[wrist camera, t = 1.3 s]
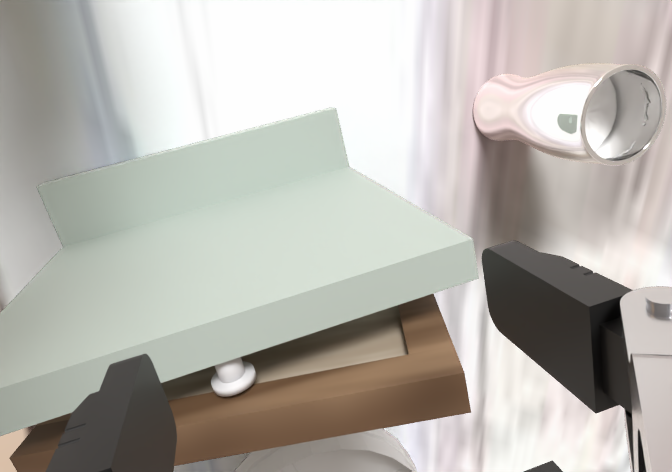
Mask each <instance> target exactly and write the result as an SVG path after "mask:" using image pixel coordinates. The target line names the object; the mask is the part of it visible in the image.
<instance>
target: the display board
mask: <svg viewBox="0 0 672 472" xmlns="http://www.w3.org/2000/svg"><path fill="white" fill-rule="evenodd" d="M37 189H38V192H39V194H40V196H41V198H42V201H43V203H44V205H45V207H46V210H47V212H48V214H49V216H50V219H51V221H52V223H53V225H54V227H55V230H56V232H57V234H58V236H59V239H60V241H61V243H62V245H63V248H62V249H61V250H60V251H59V252H58V253H57V254H56V255H55V256H54V257H53V258H52V259H51V260H50V261H49V262H48V263H47V264H46V265H45V266H44V268H43V269H42V270H41V271H40V272H39V273H38V274H37V275H36V276H35V277H34V278H33V279H32V280H31V281H30V282H29V283H28V284H27V285H26V286H25V287H24V289H23V290H22V291H21V292H20V293H19V294H18V295H17V296H16V297H15V298H14V299H13V300H12V301H11V302H10V303H9V304H8V305H7V306H6V307H5V308H4V310H3V311H2V312H1V313H0V436H2V435H5V434H8V433H11V432H14V431H17V430H20V429H23V428H26V427H29V426H32V425H35V424H38V423H41V422H44V421H47V420H51V419H54V418H57V417H60V416H63V415H66V414H69V413H72V412H73V411H74V410H75V409H76V408H77V407H78V406H79V405H80V404H81V403H82V402H83V401H84V399H85V398H86V397H87V396H88V395H89V394H92V393H95V392H98V391H99V390H100V387H101V385H102V382H103V379H104V377H105V374H106V372H107V369H108V367H109V365H110V364H113V363H116V362H119V361H122V360H126V359H129V358H132V357H135V356H138V355H142V354H147V355H148V356H149V357H150V359H151V361H152V363H153V365H154V368H155V370H156V372H157V375H158V377H159V380H160V382H161V383H163V382H166V381H169V380H172V379H175V378H178V377H181V376H184V375H187V374H190V373H193V372H196V371H199V370H202V369H205V368H208V367H211V366H215V369H216V371H217V372H216V373H215V374H214V375H213V377H212V379H211V385H212V388H213V390H214V393H215V394H216V395H218V396H222V397H227V396H233V395H236V394H239V393H241V392H243V391H245V390H246V389H248V388H249V387H250V386H251V385H252V384H253V383H254V381H255V380H256V372H255V369H254V366H253V365H252V364H251V363H249V362H245V361H242V359H241V357H242V356H245V355H248V354H251V353H254V352H257V351H260V350H263V349H266V348H269V347H272V346H275V345H278V344H281V343H284V342H287V341H290V340H293V339H296V338H299V337H303V336H306V335H309V334H312V333H315V332H318V331H321V330H324V329H327V328H330V327H333V326H336V325H339V324H342V323H345V322H348V321H351V320H354V319H357V318H360V317H363V316H366V315H369V314H372V313H375V312H378V311H381V310H385V309H388V308H391V307H394V306H397V305H400V304H403V303H406V302H409V301H412V300H415V299H418V298H421V297H424V296H427V295H430V294H433V293H436V292H439V291H442V290H445V289H448V288H451V287H454V286H457V285H460V284H463V283H466V282H470V281H473V280H476V279H479V276H478V270H477V263H476V256H475V249H474V243H473V239H472V238H471V237H469V236H467V235H466V234H464V233H462V232H460V231H459V230H457V229H455V228H454V227H452V226H450V225H448V224H447V223H445V222H443V221H442V220H440V219H438V218H436V217H435V216H433V215H431V214H430V213H428V212H426V211H425V210H423V209H421V208H419V207H418V206H416V205H414V204H413V203H411V202H409V201H407V200H406V199H404V198H402V197H401V196H399V195H397V194H395V193H394V192H392V191H390V190H389V189H387V188H385V187H384V186H382V185H380V184H378V183H377V182H375V181H373V180H372V179H370V178H368V177H366V176H365V175H363V174H361V173H360V172H358V171H356V170H355V169H353V168H351V167H349V163H348V159H347V154H346V150H345V145H344V141H343V137H342V132H341V128H340V123H339V119H338V114H337V110H336V108H327V109H323V110H319V111H315V112H311V113H308V114H304V115H300V116H296V117H292V118H288V119H285V120H281V121H277V122H273V123H269V124H265V125H262V126H258V127H254V128H250V129H246V130H243V131H239V132H235V133H231V134H227V135H223V136H220V137H216V138H212V139H208V140H204V141H200V142H197V143H193V144H189V145H185V146H181V147H177V148H174V149H170V150H166V151H162V152H158V153H155V154H151V155H147V156H143V157H139V158H135V159H132V160H128V161H124V162H120V163H116V164H112V165H109V166H105V167H101V168H97V169H93V170H90V171H86V172H82V173H78V174H74V175H70V176H67V177H63V178H59V179H55V180H51V181H47V182H44V183H42V184H41V185H39V186H37Z"/></svg>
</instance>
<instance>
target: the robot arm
mask: <svg viewBox="0 0 672 472" xmlns="http://www.w3.org/2000/svg"><path fill="white" fill-rule="evenodd" d="M482 265H483V272H484V279H485V287H486V294H487V301H488V308H489V312H490V315H491V318H492V320H493V322H494V324H495V326H496V327H497V329H498V330H499V331H500V332H501V333H502V334H503V335H504V336H505V337H507V338H508V339H509V340H510V341H511V342H512V343H514V344H515V345H516V346H517V347H518V348H520V349H521V350H522V351H523V352H524V353H525V354H527V355H528V356H529V357H530V358H531V359H532V360H534V361H535V362H536V363H537V364H538V365H540V366H541V367H542V368H543V369H544V370H545V371H547V372H548V373H549V374H550V375H551V376H552V377H554V378H555V379H556V380H557V381H558V382H560V383H561V384H562V385H563V386H564V387H565V388H567V389H568V390H569V391H570V392H571V393H572V394H574V395H575V396H576V397H577V398H578V399H579V400H581V401H582V402H583V403H584V404H585V405H587V406H588V407H589V408H590V409H591V410H592V411H594V412H595V413H599V412H601V411H604V410H607V409H609V408H612V407H615V406H617V405H621V406H622V407H623V408H624V415H625V429H626V437H627V445H628V453H629V461H630V469H631V472H672V287H663V286H656V287H645V288H640V289H636V290H631V289H629V288H627V287H625V286H623V285H621V284H619V283H617V282H614V281H612V280H610V279H608V278H606V277H604V276H602V275H600V274H598V273H593V271H591V270H589V269H587V268H585V267H583V266H581V267H580V266H579V264H577V263H575V262H573V261H571V260H568V259H566V258H564V257H562V256H557V255H551V254H546V253H540V252H538V251H536V250H534V249H532V248H530V247H528V246H526V245H524V244H522V243H520V242H518V241H514V240H513V241H510V242H506V243H503V244H500V245H497V246H493V247H490V248H487V249H485V250H484V251H483V253H482ZM176 444H177V431H176V424H175V420H174V416H173V413H172V410H171V407H170V405H169V402H168V400H167V397H166V395H165V392H164V390H163V387H162V385H161V382H160V380H159V377H158V375H157V372H156V370H155V368H154V365H153V363H152V361H151V359H150V357H149V356H148V355H147V354H142V355H138V356H135V357H132V358H129V359H126V360H122V361H119V362H116V363H113V364H110V365H109V367H108V369H107V372H106V374H105V377H104V379H103V382H102V385H101V387H100V390H99V391H98V392H95V393H92V394H89V395H88V396H87V397H86V398H85V399H84V401H83V402H82V403H81V404H80V405H79V406H78V407H77V408H76V409H75V410H74V411H73V412H72V414H71V417H70V419H69V421H68V423H67V426H66V428H65V433H63V434H62V437H61V439H60V441H59V443H58V448H57V449H56V450H55V452H54V454H53V456H52V459H51V461H50V463H49V465H48V468H47V470H46V472H173V470H174V461H175V453H176ZM524 472H562V470H561V469H560V468H559V467H558V466H557V465H556V464H555V463H554V462H553V461H550V462H547V463H545V464H542V465H540V466H537V467H535V468H532V469H529V470H527V471H524Z"/></svg>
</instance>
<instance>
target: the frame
mask: <svg viewBox="0 0 672 472" xmlns="http://www.w3.org/2000/svg"><path fill="white" fill-rule="evenodd" d="M241 359H242V361H245V362H249V363H251V364H252V365H253V366H254V369H255V372H256V380H255V381H254V383H253V384H252V385H251V386H250V387H249V388H248V389H246V390H245V391H243V392H241V393H239V394H236V395H233V396H227V397H222V396H218V395H216V394H215V393H214V390H213V388H212V385H211V379H212V377H213V375H214V374H215V373H216V372H217V371H216V369H215V366H211V367H208V368H205V369H202V370H199V371H196V372H193V373H190V374H187V375H184V376H181V377H178V378H175V379H172V380H169V381H166V382H163V383H161V385H162V387H163V390H164V392H165V395H166V397H167V400H168V402H169V405H170V407H171V410H172V413H173V416H174V420H175V424H176V431H177V444H176V453H175V461H174V466H177V465H182V464H188V463H193V462H199V461H204V460H210V459H215V458H221V457H226V456H232V455H237V454H243V453H249V452H254V451H260V450H265V449H271V448H276V447H282V446H287V445H293V444H298V443H304V442H310V441H315V440H321V439H326V438H332V437H337V436H343V435H348V434H354V433H359V432H365V431H370V430H376V429H382V428H387V427H393V426H398V425H404V424H409V423H415V422H420V421H426V420H431V419H437V418H442V417H448V416H454V415H459V414H465V413H470V412H471V410H470V404H469V398H468V392H467V386H466V380H465V374H464V371H463V368H462V366H461V363H460V361H459V358H458V356H457V353H456V351H455V348H454V345H453V343H452V340H451V338H450V335H449V333H448V330H447V328H446V325H445V322H444V320H443V317H442V315H441V312H440V310H439V307H438V305H437V302H436V299H435V297H434V294H430V295H427V296H424V297H421V298H418V299H415V300H412V301H409V302H406V303H403V304H400V305H397V306H394V307H391V308H388V309H385V310H381V311H378V312H375V313H372V314H369V315H366V316H363V317H360V318H357V319H354V320H351V321H348V322H345V323H342V324H339V325H336V326H333V327H330V328H327V329H324V330H321V331H318V332H315V333H312V334H309V335H306V336H303V337H299V338H296V339H293V340H290V341H287V342H284V343H281V344H278V345H275V346H272V347H269V348H266V349H263V350H260V351H257V352H254V353H251V354H248V355H245V356H242V357H241ZM71 414H72V413H69V414H66V415H63V416H60V417H57V418H54V419H51V420H47V421H44V422H41V423H38V424H37V425H36V426H35V428H34V429H33V430H32V431H31V433H30V434H29V435H28V436H27V437H26V439H25V440H24V441H23V442H22V443H21V445H20V446H19V447H18V448H17V449H16V451H15V452H14V453H13V454H12V456H11V457H10V460H11V461H12V463H13V465H14V467H15V468H16V470H17V472H46V470H47V468H48V465H49V463H50V461H51V459H52V456H53V454H54V452H55V450H56V449H57V448H58V443H59V441H60V439H61V437H62V434H63V433H65V428H66V426H67V423H68V421H69V419H70V417H71Z"/></svg>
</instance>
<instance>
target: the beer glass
mask: <svg viewBox="0 0 672 472" xmlns="http://www.w3.org/2000/svg"><path fill="white" fill-rule="evenodd" d="M665 115H666V95H665V91H664V87H663V85H662V83H661V81H660V79H659V78H658V77H657V75H656V74H655V73H654V72H653V71H651V70H650V69H648V68H647V67H644V66H642V65H637V64H610V63H585V64H576V65H569V66H564V67H560V68H556V69H553V70H550V71H547V72H544V73H541V74H538V75H535V76H532V77H528V78H524V77H521V76H517V75H514V74H500V75H497V76H494V77H492V78H491V79H489V80H488V81H487V82H486V83H484V85H483V86H482V87H481V88H480V90H479V91H478V93H477V95H476V98H475V101H474V106H473V116H474V121H475V124H476V126H477V128H478V129H479V131H480V132H481V133H482V134H483V135H484V136H486V137H487V138H489V139H492V140H496V141H507V140H513V139H515V140H519V141H521V142H523V143H525V144H527V145H529V146H531V147H533V148H535V149H537V150H539V151H541V152H543V153H546V154H548V155H550V156H553V157H557V158H561V159H565V160H569V161H576V162H583V163H593V164H605V165H610V166H619V165H624V164H628V163H630V162H632V161H634V160H636V159H638V158H639V157H641V156H642V155H643V154H644V153H645V152H646V151H647V150H648V149H649V148H650V147H651V146H652V145H653V143H654V142H655V140H656V139H657V137H658V135H659V133H660V131H661V129H662V126H663V123H664V120H665Z"/></svg>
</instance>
